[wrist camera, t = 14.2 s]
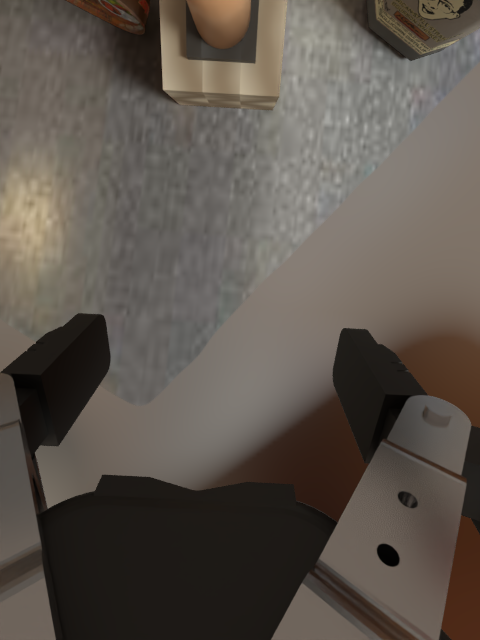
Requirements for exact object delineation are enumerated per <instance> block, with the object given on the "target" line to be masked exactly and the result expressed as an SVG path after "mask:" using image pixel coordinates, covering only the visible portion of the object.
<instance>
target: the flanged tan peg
mask: <svg viewBox="0 0 480 640" xmlns="http://www.w3.org/2000/svg"><path fill="white" fill-rule="evenodd" d="M186 1H187V3H188V6H189V9H190V12H191V14H192V17H193V20H194V22H195V25H196V28H197V30H198V32H199V34H200V36H201V37H202V39H203V40H204V41H205V42H206V43H207V44H209V45H210V46H212V47H214V48H217V49H228V48H231V47H233V46H235V45H236V44H238V43H239V42H240V41H241V40H242V38H243V37H244V35H245V34H246V32H247V29H248V26H249V22H250V15H251V0H186Z"/></svg>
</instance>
